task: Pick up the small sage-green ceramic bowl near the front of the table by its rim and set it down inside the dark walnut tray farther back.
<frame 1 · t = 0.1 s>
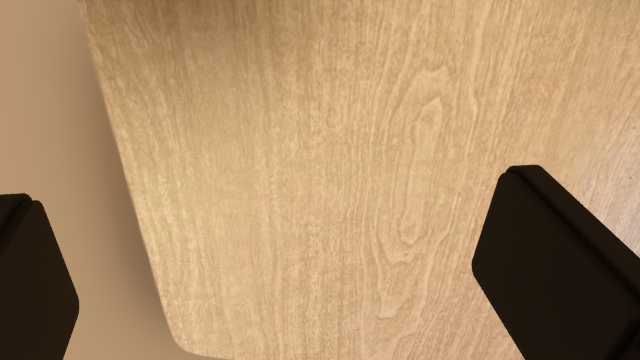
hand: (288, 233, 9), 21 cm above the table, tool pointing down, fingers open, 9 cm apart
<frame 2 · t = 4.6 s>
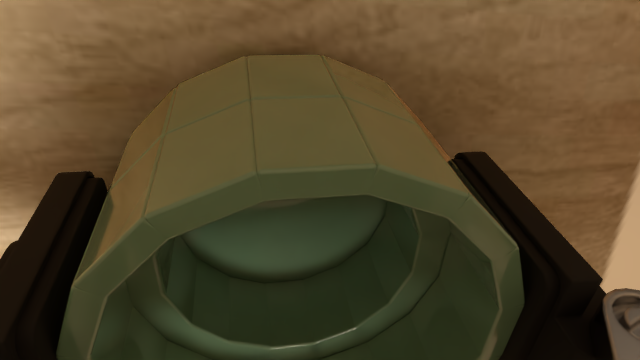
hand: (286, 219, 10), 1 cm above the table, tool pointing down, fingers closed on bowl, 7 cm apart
bowl: (282, 192, 11), on the table, touching gripper
when the fingers open (2 cm above the table, at t = 12.8 s): bowl stays where it is, resting on tray.
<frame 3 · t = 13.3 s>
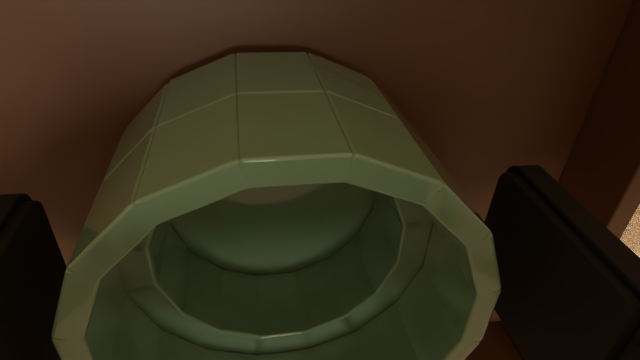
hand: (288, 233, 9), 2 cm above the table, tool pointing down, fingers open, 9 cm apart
bowl: (272, 186, 11), resting on tray
tray: (274, 174, 11), on the table
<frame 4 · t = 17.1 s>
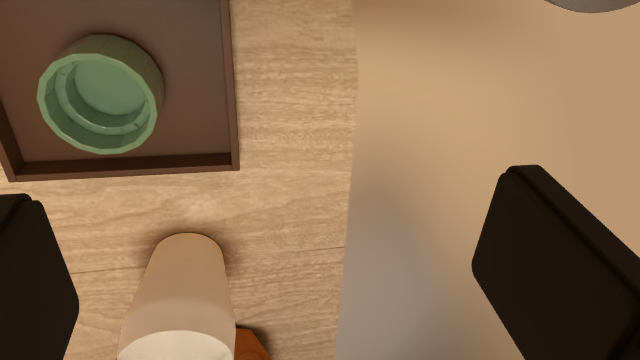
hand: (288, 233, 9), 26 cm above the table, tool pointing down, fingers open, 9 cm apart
cup: (188, 255, 44), on the table
bowl: (113, 81, 32), resting on tray
tray: (116, 78, 33), on the table
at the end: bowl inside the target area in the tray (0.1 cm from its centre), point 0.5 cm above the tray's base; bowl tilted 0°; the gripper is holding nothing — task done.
